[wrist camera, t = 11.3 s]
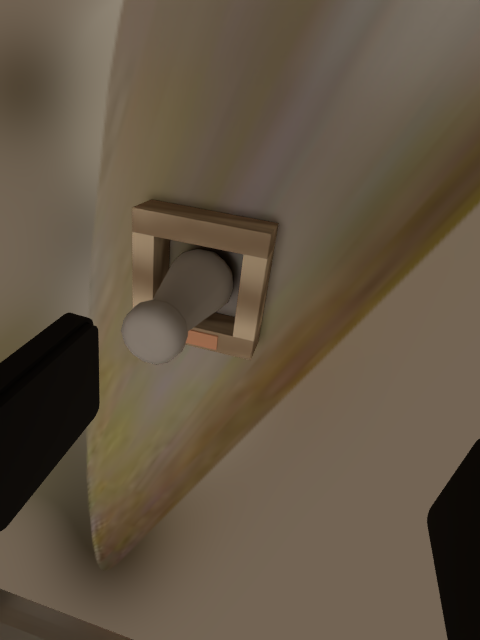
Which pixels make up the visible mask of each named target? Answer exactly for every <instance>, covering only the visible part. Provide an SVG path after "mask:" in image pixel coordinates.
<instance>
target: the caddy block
mask: <svg viewBox="0 0 480 640" xmlns="http://www.w3.org/2000/svg"><path fill="white" fill-rule="evenodd" d="M278 224H279V223H274V222H269V221H263V220H258V219H253V218H247V217H242V216H237V215H231V214H226V213H221V212H215V211H210V210H205V209H199V208H194V207H189V206H183V205H178V204H173V203H167V202H162V201H157V200H149V201H146V202H144V203H142V204H139V205H137V206H135V207H132V246H133V308H134V307H135V306H136V305H138V304H139V303H140V302H145V301H149V300H153V298H154V296H155V294H156V292H157V290H158V289H159V287H160V285H161V283H162V281H163V279H164V278H165V276H166V274H167V272H168V270H169V253H170V240H175V241H180V242H185V243H190V244H195V245H200V246H205V247H210V248H214V249H219V250H224V251H229V252H234V253H239V254H244V256H243V263H242V271H241V278H240V286H239V293H238V301H237V308H236V316H235V317H232V316H227V315H223V314H219V313H213V314H212V315H210V316H209V317H207V318H206V319H204V320H203V321H202V322H200V323H199V324H198V325H196V326H195V327H194V328H192V329H191V330H189V331H188V337H187V340H186V343H185V344H186V345H190V346H194V347H198V348H203V349H207V350H211V351H215V352H219V353H223V354H227V355H231V356H235V357H239V358H244V359H248V360H251V358H252V356H253V353H254V351H255V348H256V346H257V343H258V341H259V335H260V329H261V323H262V317H263V311H264V306H265V300H266V294H267V288H268V282H269V276H270V271H271V265H272V259H273V253H274V247H275V241H276V235H277V230H278Z"/></svg>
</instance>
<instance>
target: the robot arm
mask: <svg viewBox="0 0 480 640" xmlns="http://www.w3.org/2000/svg"><path fill="white" fill-rule="evenodd" d="M98 409H99V347H98V328H97V327H96V326H94V325H93V321H92V320H91V319H90V318H87V317H83V316H79V315H76V314H73V313H66V314H64V315H63V316H62V317H60V318H59V319H58V320H56V321H55V322H54V323H53V324H51V325H50V326H48V327H47V328H46V329H44V330H43V331H42V332H40V333H39V334H38V335H37V336H35V337H34V338H33V339H31V340H30V341H29V342H27V343H26V344H25V345H23V346H22V347H21V348H19V349H18V350H17V351H16V352H14V353H13V354H11V355H10V356H9V357H8V358H7V359H5V360H4V361H2V362H1V363H0V531H2V530H3V529H5V528H6V527H7V526H8V525H9V523H10V522H11V521H12V520H13V518H14V517H15V516H16V515H17V513H18V512H19V511H20V510H21V508H22V507H23V506H24V505H25V503H26V502H27V501H28V500H29V498H30V497H31V496H32V495H33V493H34V492H35V491H36V490H37V488H38V487H39V486H40V485H41V484H42V482H43V481H44V480H45V478H46V477H47V476H48V475H49V474H50V472H51V471H52V470H53V469H54V467H55V466H56V465H57V464H58V462H59V461H60V460H61V459H62V457H63V456H64V455H65V454H66V452H67V451H68V450H69V448H70V447H71V446H72V445H73V444H74V442H75V441H76V440H77V439H78V437H79V436H80V435H81V434H82V432H83V431H84V430H85V429H86V427H87V426H88V425H89V424H90V422H91V421H92V420H93V419H94V417H95V416H96V414H97V412H98ZM427 524H428V531H429V536H430V542H431V548H432V553H433V558H434V565H435V570H436V576H437V582H438V587H439V593H440V598H441V604H442V610H443V615H444V621H445V627H446V632H447V638H448V640H480V439H478V440H477V441H476V443H475V444H474V445H473V447H472V448H471V450H470V451H469V453H468V454H467V456H466V457H465V458H464V460H463V461H462V463H461V464H460V466H459V467H458V469H457V470H456V472H455V473H454V474H453V476H452V477H451V479H450V480H449V482H448V483H447V485H446V486H445V488H444V489H443V490H442V492H441V493H440V495H439V496H438V498H437V499H436V501H435V502H434V504H433V505H432V507H431V508H430V510H429V513H428V518H427ZM0 640H132V639H130V638H128V637H125V636H122V635H120V634H117V633H115V632H112V631H109V630H107V629H104V628H101V627H99V626H96V625H93V624H91V623H88V622H86V621H83V620H81V619H78V618H75V617H73V616H70V615H67V614H65V613H62V612H60V611H57V610H54V609H52V608H49V607H47V606H44V605H41V604H38V603H36V602H33V601H31V600H28V599H25V598H23V597H20V596H17V595H15V594H12V593H10V592H7V591H5V590H2V589H0Z"/></svg>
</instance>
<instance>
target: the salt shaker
mask: <svg viewBox="0 0 480 640" xmlns="http://www.w3.org/2000/svg"><path fill="white" fill-rule="evenodd" d="M232 290H233V276H232V272H231V270H230V267H229V266H228V265H227V264H226V262H225V261H224V260H223V259H222V258H220V257H219V256H218V255H217V253H215V252H212V251H207V250H202V249H195V250H191V251H187V252H184V253H182V254H181V255H180V256H179V257H178V258H177V259H176V260H175V261H174V262H173V263H172V265H171V267H170V268H169V270H168V272H167V274H166V276H165V278H164V279H163V281H162V283H161V285H160V287H159V289H158V290H157V292H156V294H155V296H154V298H153V300H149V301H145V302H140V303H139V304H138V305H136V306H135V307H134V308H133V309H132V310H131V311H130V312H129V313H128V314H127V316H126V317H125V319H124V321H123V325H122V329H121V332H122V336H123V340H124V343H125V344H126V346H127V347H128V349H129V350H130V351H131V353H132V354H133V355H135V356H136V357H138V358H139V359H141V360H142V361H144V362H148V363H152V364H156V365H157V364H162V363H168V362H169V361H170V360H172V359H173V358H174V357H175V356H177V355H178V354H179V353H180V352H182V350H183V348H184V346H185V343H186V340H187V337H188V331H189V330H191V329H192V328H194V327H195V326H196V325H198V324H199V323H200V322H202V321H203V320H204V319H206V318H207V317H209V316H210V315H212V314H213V313H215V312H216V311H218V310H219V309H220V308H221V307H223V306H224V305H225V304H226V303H228V302H229V299H230V296H231V293H232Z"/></svg>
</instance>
